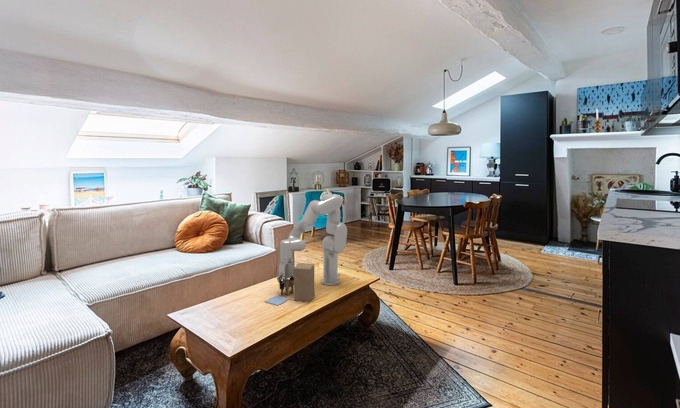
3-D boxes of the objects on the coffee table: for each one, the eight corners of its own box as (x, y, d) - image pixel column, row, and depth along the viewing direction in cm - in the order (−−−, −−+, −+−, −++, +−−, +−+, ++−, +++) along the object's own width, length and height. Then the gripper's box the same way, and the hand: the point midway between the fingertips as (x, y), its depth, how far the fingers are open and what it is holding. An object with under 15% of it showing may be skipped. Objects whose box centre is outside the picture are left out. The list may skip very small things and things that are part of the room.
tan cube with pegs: (286, 290, 219) (286, 278, 218) (294, 292, 216) (293, 280, 215) (280, 294, 214) (280, 281, 213) (287, 296, 211) (287, 283, 210)
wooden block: (310, 301, 203) (309, 269, 200) (293, 300, 205) (293, 267, 202) (314, 295, 212) (314, 263, 210) (299, 293, 214) (298, 262, 212)
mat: (275, 296, 211) (275, 295, 210) (288, 299, 206) (288, 298, 205) (264, 302, 202) (264, 301, 202) (277, 305, 197) (277, 304, 197)
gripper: (290, 255, 221) (290, 281, 224) (272, 262, 207) (272, 290, 209) (300, 257, 218) (300, 283, 220) (282, 264, 203) (282, 292, 205)
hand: (287, 286), depth 214 cm, fingers open, 9 cm apart
